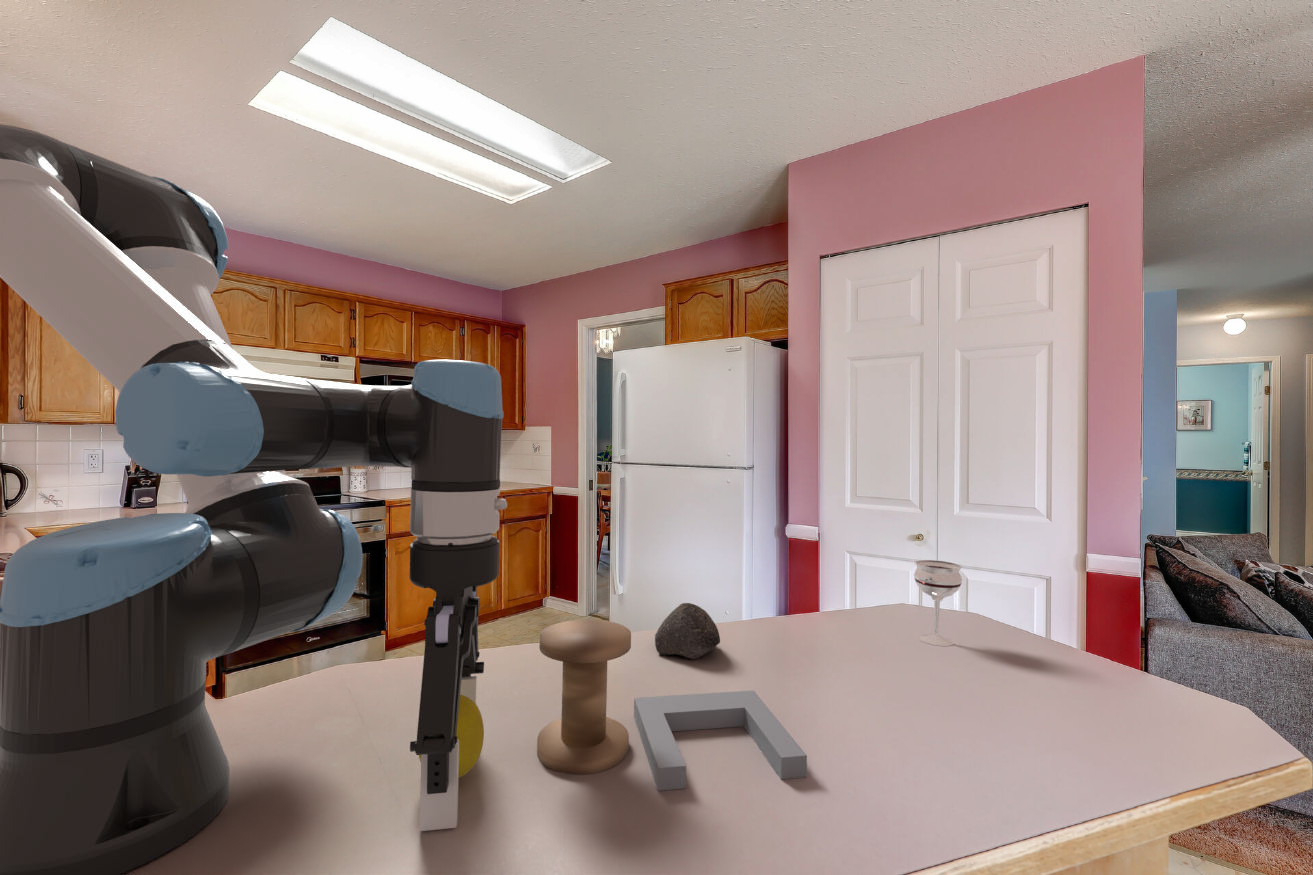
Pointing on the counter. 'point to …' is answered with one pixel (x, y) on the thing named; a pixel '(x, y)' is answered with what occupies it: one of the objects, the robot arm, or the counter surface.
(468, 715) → the lemon
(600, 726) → the bobbin
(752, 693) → the notch board
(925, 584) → the wineglass
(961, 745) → the counter surface
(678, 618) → the stone
